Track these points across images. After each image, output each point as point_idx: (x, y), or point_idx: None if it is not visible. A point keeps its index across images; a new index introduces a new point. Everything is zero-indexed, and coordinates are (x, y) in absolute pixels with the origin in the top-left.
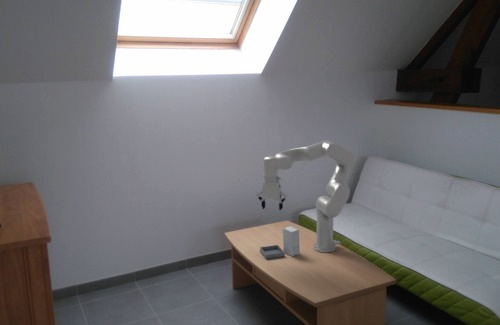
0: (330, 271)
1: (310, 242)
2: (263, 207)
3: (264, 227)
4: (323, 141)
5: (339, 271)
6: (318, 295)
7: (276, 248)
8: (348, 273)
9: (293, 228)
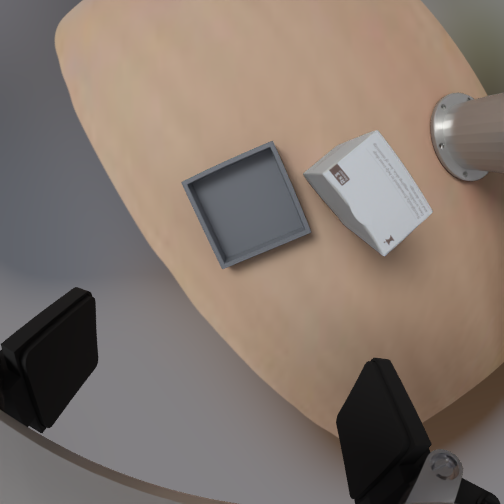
0: (447, 328)
1: (414, 71)
2: (85, 376)
3: None
4: None
5: (468, 323)
6: None
7: (265, 149)
8: (481, 329)
9: (401, 188)
